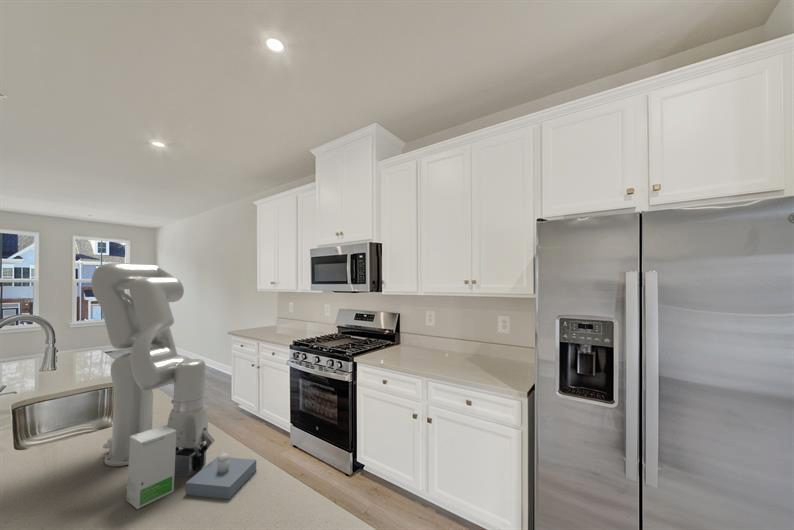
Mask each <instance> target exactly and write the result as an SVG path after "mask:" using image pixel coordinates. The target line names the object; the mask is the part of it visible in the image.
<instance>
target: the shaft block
mask: <svg viewBox="0 0 794 530" xmlns="http://www.w3.org/2000/svg"><path fill="white" fill-rule="evenodd" d="M256 471H257V459H252V458H251V459H250V458H238V457H230V455H229V453H226V452H224V453H221V454H220V455H219V456H217V457H216V458H214V459H213V460H212V461H210V462H209V463H208V464H207V465H205V467H203V468H202V469H201V470H199V471H198V472H196V474H195V475H194V476H192V477H191V478H189V480H187V481H186V482H185V496H192V497H193V496H194V497H203V498H205V497H206V498H213V499H214V498H215V499H223V500H224V499H225V500H230V499H231V498H232V497H233V496H234V495H235V494H236V493H237V492H238V491H239V490H240V489H241V487H242V486H244V484H246V483H247V481H248V480H249V479H250V478H251V477H252V476H253V475H254V474H255V472H256Z"/></svg>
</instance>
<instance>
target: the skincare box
mask: <svg viewBox="0 0 794 530" xmlns="http://www.w3.org/2000/svg"><path fill="white" fill-rule="evenodd" d="M176 431H177V430H175V429H173V428H170V427H168V426H167V425H162V426H159V427H156V428H152V429H150V430H147V431H145V432H142V433H139V434H135V435H132V436H130V450H129V465H128V468H127V486H126V501H127V502H128V503H129V504H131V506H133V507H134V508H135V509H136V510H139V509H141V508H143V507H145V506H147V505H150V504H152V503H153V502H155V501H157V500H159V499H162V498H164V497H166V496H168V495H170V494H172V493H174V492H175V476H174V474H175V452H176Z"/></svg>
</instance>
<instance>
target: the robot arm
mask: <svg viewBox="0 0 794 530" xmlns="http://www.w3.org/2000/svg"><path fill="white" fill-rule="evenodd" d="M90 286H91V291H92V294H93V296H94V298H95V300H96V301H97V303H98V305H99V307H100V309H101V312H102V315H103V319H104V323H105V327H106V331H107V335H108V339H109V342H110V344H111V346H112V347H113V348H114V349H116V350H121V351H122V350H130V349H131V350H130V352H127V353H124V354H122V355H120V356H118V357H116V358H115V359H114V360H113V362H112V363H111V366H110V375H111V381H112V388H113V414H112V415H113V416H112V417H113V418H112V437H110V438H109V439H108V440H107V441H106V443H104V444H103V445H102V449H106V450H107V449H108V451H109V452H108V453H107V454H106V455H105V457H104V464H105V465H106V466H108V467H123V466H129V450H130V436H132V435H135V434H139V433H142V432H145V431H147V430H150V429H153V415H154V411H153V410H154V392H153V390H157V389H159V388H162V387H165V386H168V385H171V384H174V385H173V398H172V399H171V402H170V403H171V404H173V406H172V407H173V409H172V408H171V410H170V412H169V415H168V419H167V423H166V424H167V426H168V427H170V428H173V429H175V430H177V431H176V451H177V450H178V449H180V448H194V451H195V453H196V456H195V457H194V471H196V472H197V471H198V470H199V469H201V468H202V467H203V466H205V464H204V452H205V451H206V452H207V450H208V449H210V447H211V446H212V445H213V444H214V443H215V438H214V437H213V436H212V435H211V434H210V433H209V421H208V419H209V418H208V412H207V411H208V410H207V408H206V406H205V392H206V391H205V389H206V362H205V361H204V360H203V359H199V358H191V357H189V356H186V355H178V353H177V349H176V345H175V341H174V337H173V334H172V329H171V327H172V326H173V325H174V323H175V319H174V316H173V313H172V309H171V306H170V303H175V302H178V301H180V300H181V299H182V298H183V296H184V292H185V289H184V285H183V283H182V281H181V280H180V279H179V278H178V277H177V276H175V275H174V274H172V273H171V272H169V271H168V270H166V269H164V268H162V267H161V266H159V265H156V264H151V263H131V262H129V263H128V262H112V263H111V262H110V263H105V264H101V265H100V266H98V267H97V268H96V269H94V271H93V273H92V276H91V285H90ZM124 290H129V293H130V294H127V293H126V292H125V291H124ZM199 446H200V447H201V449H199Z"/></svg>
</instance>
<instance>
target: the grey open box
mask: <svg viewBox="0 0 794 530" xmlns="http://www.w3.org/2000/svg"><path fill="white" fill-rule="evenodd" d="M199 449H201V447H200V445H199ZM195 456H196V453H195V451H194V448H179V449H178V450H177V451H176V452H175V474H174V477H186V478H190V477H191V476H192V475H193V474H194V473H197V471H194V457H195ZM206 463H207V450H206V451H205V452H204V465H205V464H206Z"/></svg>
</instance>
